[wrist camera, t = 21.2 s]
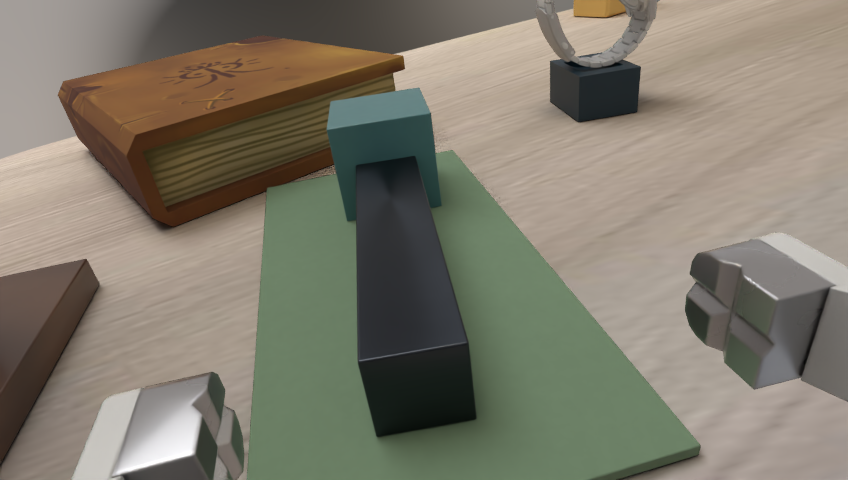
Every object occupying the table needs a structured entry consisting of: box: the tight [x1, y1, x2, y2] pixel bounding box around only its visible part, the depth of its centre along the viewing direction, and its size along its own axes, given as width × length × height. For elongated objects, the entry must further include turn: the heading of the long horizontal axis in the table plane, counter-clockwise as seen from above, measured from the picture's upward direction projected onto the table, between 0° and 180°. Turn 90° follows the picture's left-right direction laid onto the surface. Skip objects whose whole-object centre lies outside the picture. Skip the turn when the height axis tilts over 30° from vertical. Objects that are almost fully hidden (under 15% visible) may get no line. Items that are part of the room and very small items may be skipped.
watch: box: [535, 0, 659, 122], centre depth 37 cm, size 6×8×11 cm
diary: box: [58, 36, 405, 227], centre depth 41 cm, size 23×19×6 cm
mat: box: [247, 150, 700, 480], centre depth 23 cm, size 24×12×1 cm, turn 13°
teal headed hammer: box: [327, 88, 477, 437], centre depth 22 cm, size 5×19×5 cm, turn 7°
